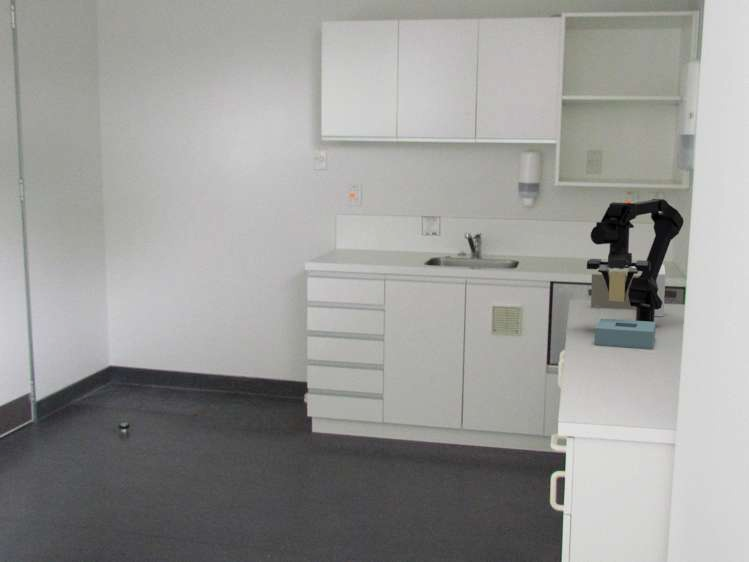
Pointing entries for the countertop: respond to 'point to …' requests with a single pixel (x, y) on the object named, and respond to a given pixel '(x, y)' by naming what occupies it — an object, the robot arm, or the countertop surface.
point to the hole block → (625, 333)
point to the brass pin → (617, 286)
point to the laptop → (607, 295)
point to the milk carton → (660, 290)
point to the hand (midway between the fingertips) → (617, 292)
